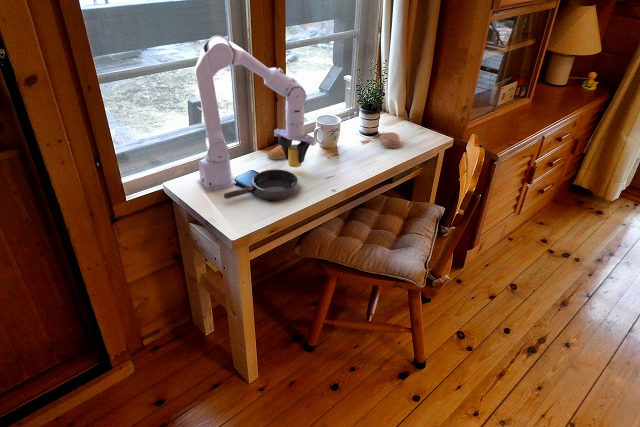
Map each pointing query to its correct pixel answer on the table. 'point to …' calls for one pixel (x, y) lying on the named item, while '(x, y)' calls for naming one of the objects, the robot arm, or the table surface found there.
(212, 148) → the robot arm
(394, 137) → the pinkish-brown rounded lump
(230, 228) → the table surface
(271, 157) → the pastry
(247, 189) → the skillet handle
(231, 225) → the table surface
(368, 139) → the table surface
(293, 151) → the yellow cylinder
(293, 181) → the skillet
